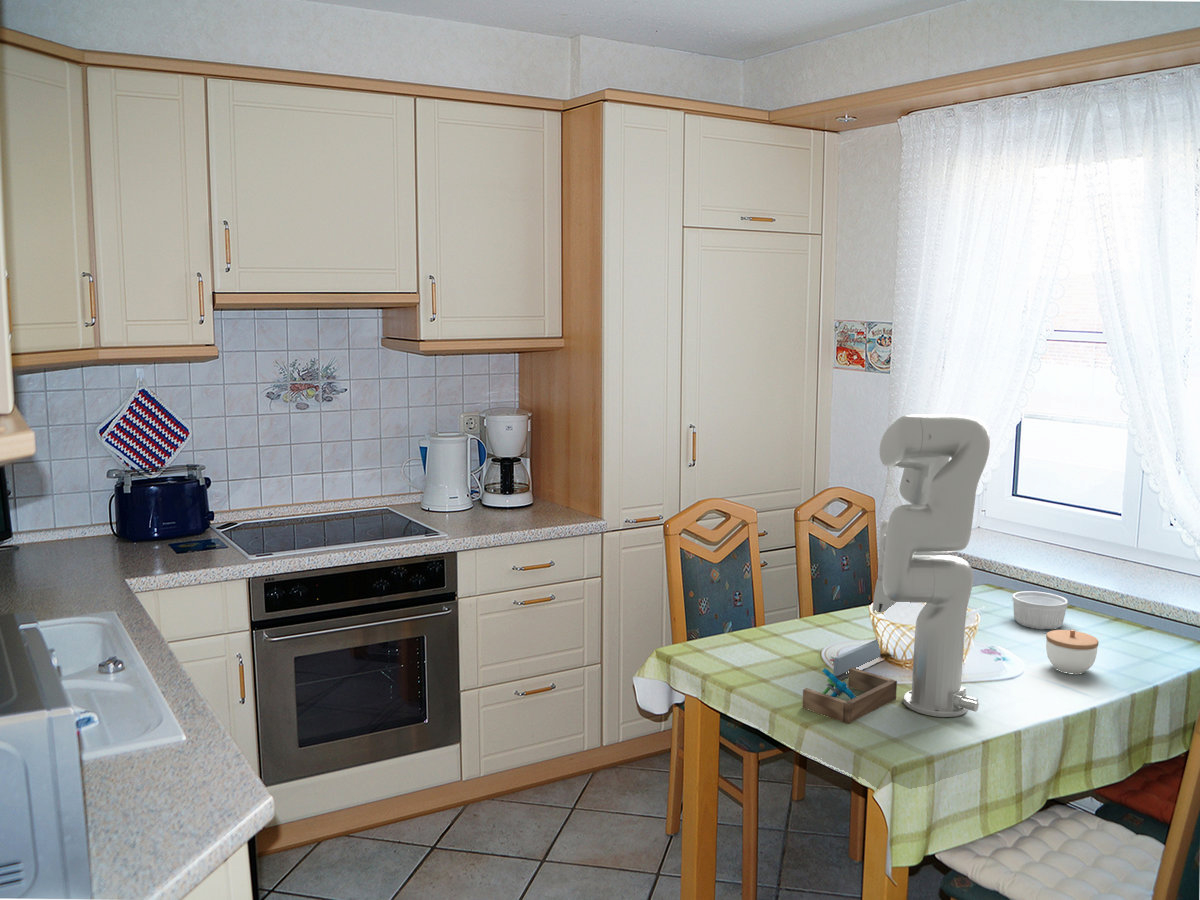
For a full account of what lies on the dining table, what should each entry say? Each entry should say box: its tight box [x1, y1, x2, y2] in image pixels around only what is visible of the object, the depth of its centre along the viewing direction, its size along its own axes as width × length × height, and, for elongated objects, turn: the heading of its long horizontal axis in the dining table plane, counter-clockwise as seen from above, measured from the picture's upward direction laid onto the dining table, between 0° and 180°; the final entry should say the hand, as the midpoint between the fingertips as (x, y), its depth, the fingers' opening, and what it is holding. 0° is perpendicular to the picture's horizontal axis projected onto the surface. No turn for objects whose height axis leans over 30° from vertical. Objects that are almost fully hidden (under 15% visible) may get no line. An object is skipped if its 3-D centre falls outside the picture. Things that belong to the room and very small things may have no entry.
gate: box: [832, 638, 881, 676], centre depth 228 cm, size 1×18×4 cm, turn 135°
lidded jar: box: [1045, 629, 1099, 674], centre depth 228 cm, size 11×11×9 cm
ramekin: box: [1011, 590, 1069, 630], centre depth 262 cm, size 13×13×7 cm
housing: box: [802, 668, 898, 725], centre depth 217 cm, size 17×38×4 cm, turn 134°
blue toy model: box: [821, 668, 857, 700], centre depth 208 cm, size 11×6×10 cm
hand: (890, 647), depth 238 cm, fingers closed
